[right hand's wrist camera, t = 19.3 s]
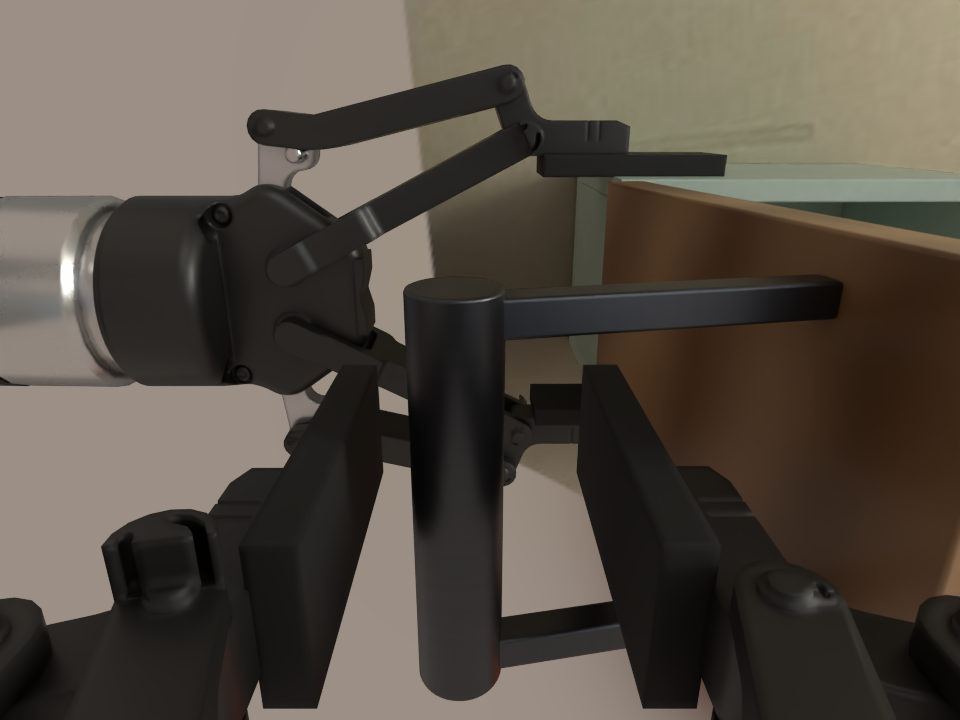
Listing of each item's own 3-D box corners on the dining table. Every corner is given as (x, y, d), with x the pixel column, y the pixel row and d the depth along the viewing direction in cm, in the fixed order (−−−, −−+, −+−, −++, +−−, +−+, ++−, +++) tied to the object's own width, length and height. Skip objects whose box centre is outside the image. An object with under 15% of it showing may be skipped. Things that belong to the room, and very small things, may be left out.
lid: (1120, 267, 8) (428, 304, 7) (941, 778, 11) (445, 887, 10) (642, 180, 21) (372, 185, 20) (622, 429, 24) (387, 451, 23)
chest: (857, 163, 31) (1017, 178, 22) (822, 342, 34) (949, 421, 25) (577, 163, 31) (620, 179, 22) (568, 343, 34) (603, 422, 25)
